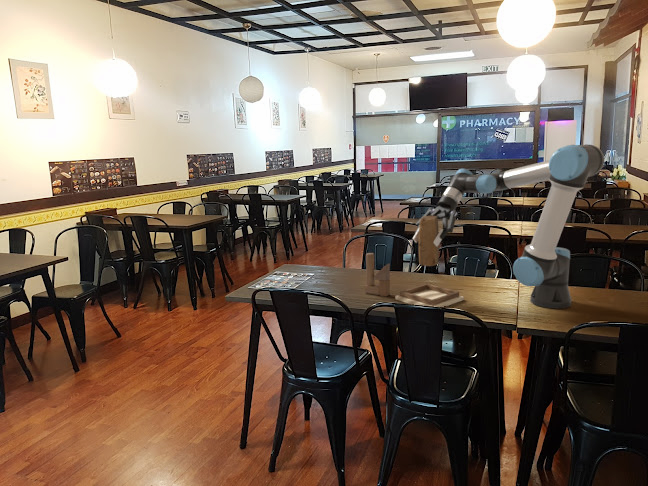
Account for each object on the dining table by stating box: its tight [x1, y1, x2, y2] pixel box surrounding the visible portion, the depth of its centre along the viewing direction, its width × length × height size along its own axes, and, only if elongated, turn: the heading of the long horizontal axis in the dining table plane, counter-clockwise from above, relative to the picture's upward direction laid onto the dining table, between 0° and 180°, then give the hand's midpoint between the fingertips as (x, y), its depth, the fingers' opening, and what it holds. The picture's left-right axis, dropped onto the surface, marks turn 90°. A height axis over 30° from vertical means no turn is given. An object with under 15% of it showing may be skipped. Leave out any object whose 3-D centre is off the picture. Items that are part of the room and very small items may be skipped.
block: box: [418, 215, 440, 267], centre depth 202 cm, size 11×8×20 cm
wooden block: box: [364, 252, 391, 297], centre depth 215 cm, size 4×11×18 cm, turn 56°
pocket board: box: [395, 283, 465, 308], centre depth 206 cm, size 20×20×4 cm
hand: (424, 242), depth 200 cm, fingers closed on block, 10 cm apart
